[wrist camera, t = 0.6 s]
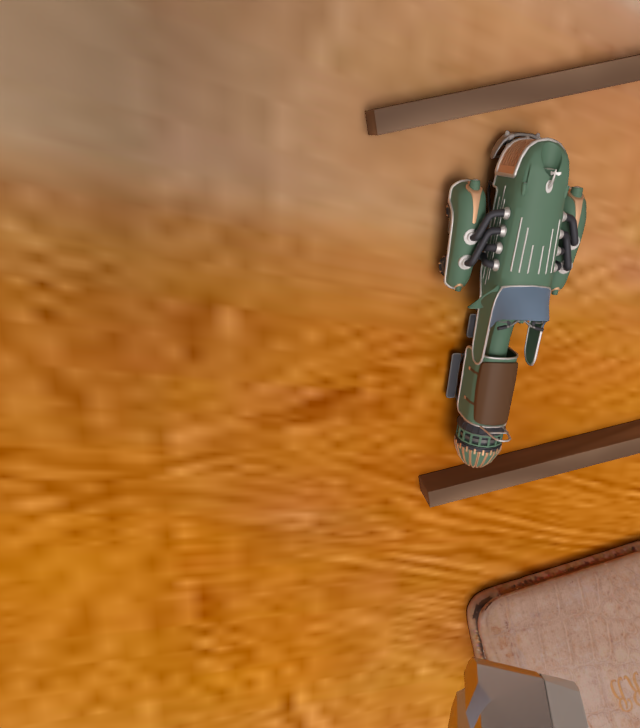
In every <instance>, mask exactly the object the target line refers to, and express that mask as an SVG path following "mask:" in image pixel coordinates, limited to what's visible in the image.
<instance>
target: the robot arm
mask: <svg viewBox="0 0 640 728" xmlns="http://www.w3.org/2000/svg"><path fill="white" fill-rule="evenodd" d="M464 681H465V688H464V689H462V690H460V691H458V692H457V693H456V696H455V699H454V702H453V705H452V708H451V713H450V719H449V724H448V728H589V727H588V723H587V718H586V714H585V710H584V706H583V702H582V698H581V694H580V690H579V688H578V686H577V685H576V683H575V682H574V681H570V680H566V679H562V678H558V677H554V676H550V675H546V674H541V673H539V674H538V673H537V672H535V671H531V670H527V669H523V668H518V667H514V666H510V665H506V664H502V663H497V662H493V661H489V660H485V659H481V658H476V657H472V658H471V659H470V661H469V662H468V664H467V667H466V669H465V672H464Z"/></svg>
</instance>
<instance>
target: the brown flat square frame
mask: <svg viewBox="0 0 640 728" xmlns="http://www.w3.org/2000/svg"><path fill="white" fill-rule="evenodd" d="M639 80H640V55H635V56H630V57H625V58H620V59H615V60H611V61H606V62H601V63H596V64H591V65H586V66H581V67H577V68H572V69H567V70H562V71H557V72H552V73H547V74H543V75H538V76H533V77H528V78H523V79H518V80H513V81H509V82H504V83H499V84H494V85H489V86H484V87H479V88H475V89H470V90H465V91H460V92H455V93H450V94H445V95H441V96H436V97H431V98H426V99H421V100H416V101H411V102H407V103H402V104H397V105H392V106H387V107H382V108H377V109H372V110H368V111H365V114H366V121H367V127H368V134H369V135H381V134H386V133H391V132H396V131H400V130H405V129H410V128H415V127H420V126H424V125H429V124H434V123H439V122H443V121H448V120H453V119H458V118H463V117H467V116H472V115H477V114H482V113H486V112H491V111H496V110H501V109H506V108H510V107H515V106H520V105H525V104H529V103H534V102H539V101H544V100H549V99H553V98H558V97H563V96H568V95H572V94H577V93H582V92H587V91H592V90H596V89H601V88H606V87H611V86H615V85H620V84H625V83H630V82H635V81H639ZM638 453H640V420H636V421H632V422H628V423H624V424H620V425H616V426H612V427H608V428H604V429H601V430H597V431H593V432H589V433H585V434H581V435H577V436H573V437H569V438H565V439H561V440H557V441H554V442H550V443H546V444H542V445H538V446H534V447H530V448H526V449H522V450H518V451H514V452H510V453H507V454H503V455H499V456H496V457H495V458H494V459H493V461H492V462H491V463H489V464H487V465H486V466H484V467H480V466H479V467H480V468H479V467H478V468H476V466H475V467H474V468H472V466H471V465H470V466H468V465H467V464H463V465H460V466H456V467H452V468H448V469H444V470H440V471H436V472H432V473H428V474H424V475H420V476H419V482H420V489H421V492H422V494H423V495H424V497H425V499H426V501H427V503H428V504H429V506H430V507H434V506H438V505H441V504H445V503H449V502H453V501H457V500H461V499H464V498H468V497H472V496H476V495H480V494H484V493H488V492H491V491H495V490H499V489H503V488H507V487H511V486H514V485H518V484H522V483H526V482H530V481H534V480H538V479H541V478H545V477H549V476H553V475H557V474H561V473H565V472H568V471H572V470H576V469H580V468H584V467H588V466H591V465H595V464H599V463H603V462H607V461H611V460H615V459H618V458H622V457H626V456H630V455H634V454H638Z"/></svg>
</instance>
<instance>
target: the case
mask: <svg viewBox="0 0 640 728" xmlns="http://www.w3.org/2000/svg"><path fill="white" fill-rule="evenodd" d="M467 619H468V626H469V631H470V635H471V640H472V644H473V649H474V655H475V657H476V658H481V659H485V660H489V661H493V662H497V663H502V664H506V665H510V666H514V667H518V668H523V669H527V670H531V671H535V672H537V673H538V674H539V673H541V674H546V675H550V676H554V677H558V678H562V679H566V680H570V681H574V682H575V683H576V685H577V686H578V688H579V690H580V694H581V698H582V702H583V706H584V710H585V714H586V718H587V723H588V727H589V728H640V540H639V541H636V542H632V543H628V544H626V545H623V546H620V547H617V548H614V549H610V550H607V551H605V552H601V553H598V554H595V555H592V556H589V557H586V558H582V559H579V560H576V561H573V562H570V563H567V564H563V565H560V566H557V567H554V568H551V569H548V570H545V571H541V572H538V573H535V574H532V575H528V576H525V577H523V578H520V579H516V580H513V581H509V582H506V583H503V584H500V585H497V586H494V587H491V588H488V589H485V590H483V591H481V592H479V593H477V594H476V595H475V596H474V597H473V598H472V600H471V601H470V603H469V605H468V608H467Z"/></svg>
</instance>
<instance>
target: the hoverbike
mask: <svg viewBox="0 0 640 728" xmlns="http://www.w3.org/2000/svg"><path fill="white" fill-rule="evenodd" d="M514 137H522V138H517V139H515V140H513V138H514ZM503 145H505V148H504V150H503V151H502V153H501V155H496V154H497V153H498V151H499V149H500V148H501V147H502V146H503ZM490 158H492V159H494V158H499V160H498V162H497V165H496V168H495V171H494V172H495V177H494V181H493V182H491V180H489V182H488V188H487V201H488V209H489V212H488V213H487V214H486V196H485V193H484V191H483V189H482V187H481V186H480V180H478V179H473V180H469V179H462V180H459V181H456V182H455V183H454V184H452V185H451V187H450V189H449V196H448V205H447V206H446V207H447V208H446V213H447V214H446V216H448V218H449V225H448V234H449V241H448V248H447V255H445V256H443V258H442V259H441V260H440V263H438V264H439V269H440V271H439V272H441V274H442V275H443V276H444V283H445V285H446V286H447V287H449V288H451V289H455V291H458V292H459V291H461V288H462V287H464V286H465V285H466V284H467V282H468V280H469V278H470V275H471V272H472V269H473V266H474V265H475V264H476V262H477V261H478V260H481V262H482V263H481V268H480V296H479V299H478V300H477V301H475V302H474V303H473V304H471V305H470V306H468V308H470V309H476V310H477V314H470V315H469V321H468V327H467V333H466V336H467V337H470V338H471V337H472V338H473V341H472V347H471V346H467V347H466V349H465V352H464V354H463V353H462V357H461V353H453V354H452V358H451V364H450V371H449V378H448V384H447V391H446V397H447V398H454V397H455V398H456V401H457V410H458V412H459V414H460V416H459V417H458V418H457V423H458V424H457V430H456V433H455V437H454V444H455V447H456V450H457V453H458V455H459V457H460V458H461V459H462V461H463V462H464V463H465V464H467V465H468V466H470V465H471V466H472V468H474V467H475V466H476V468H478V467H479V466H480V467H484V466H486V465H487V464H489V463H491V462H492V461H493V459H494V458H495V457H496V456H497V455H498V454H499V452H500V451H501V446H502V442H508V441H510V440H511V437H510V435H509V433H508V431H507V430H506V427H505V425H506V422H507V420H508V415H509V410H510V406H511V401H512V396H513V391H514V386H515V381H516V375H517V368H518V363H517V362H516V360H517V358H518V353H517V352H516V351H514V350H513V349H511V348H510V347H509V346H508V345H509V340H510V336H511V333H512V329H513V327H514V324H515V323H517V322H519V323H524V322H525V323H526V324H527V325H528V331H527V337H526V342H525V349H524V354H525V360H526V362H527V364H528V365H530V366H533V364H534V363H535V360H536V357H537V353H538V349H539V344H540V340H541V336H542V332H543V330H544V329H543V327H544V324H545V323H546V322H547V321H549V299H550V293H552V294H553V295H557V294H558V291H559V290H560V289H562V288H563V286H564V284H565V283H566V280H567V278H568V275H569V272H570V270H571V269H572V266H573V262H574V259H575V256H576V253H577V250H578V247H579V244H580V241H581V238H582V234H583V231H584V226H585V221H586V201H585V198H584V196H583V194H582V192H583V188H581V187H579V186H575V187H569V186H568V177H569V159H568V155H567V153H566V150H565V149H564V147H563V146H562V144H561V143H560V142H558V141H557V140H554V139H551V138H541V137H540V134H539V133H537V134H536V135H534V134H530V133H517V132H512V133H510V132H509V131H508V130H507V131H505V134H504V135H502V137H501V138H499V139H498V140H497V142H496V144H495V145H494V147H493V150H492V153H491V156H490ZM490 185H492V186H493V187H494V188H496V193H495V198H494V203H493V208H492V211H491V203H490ZM485 214H486V215H485ZM488 225H489V228H488V229H487V230H486V228H487V226H488ZM485 230H486V231H485ZM483 233H484V234H483ZM482 251H484V252H482ZM527 321H529V322H527ZM463 358H464V361H463V368H462V374H461V381H460V387H459V393H458V394H457V380H458V374H459V367H460V363H461V361H462V359H463ZM503 434H507V435H508V437H509V439H508V440H502V437H503ZM480 467H479V468H480Z"/></svg>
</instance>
